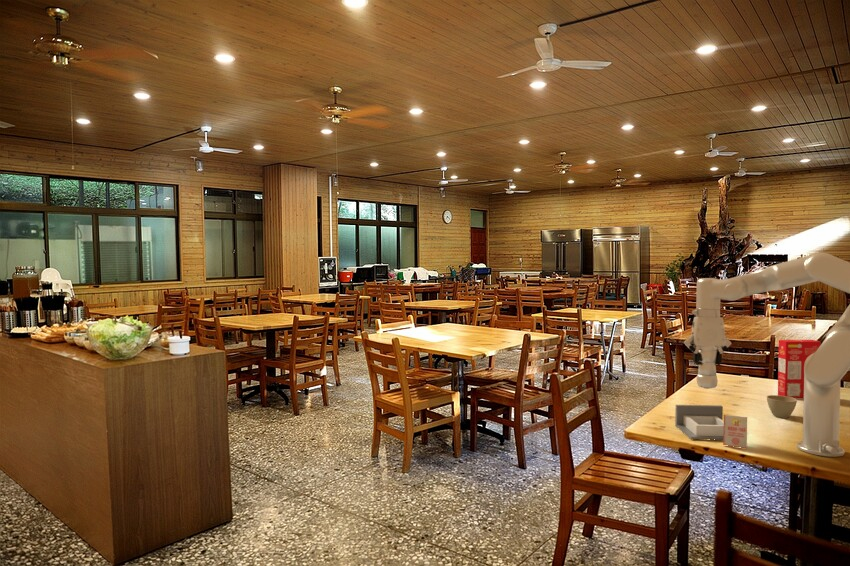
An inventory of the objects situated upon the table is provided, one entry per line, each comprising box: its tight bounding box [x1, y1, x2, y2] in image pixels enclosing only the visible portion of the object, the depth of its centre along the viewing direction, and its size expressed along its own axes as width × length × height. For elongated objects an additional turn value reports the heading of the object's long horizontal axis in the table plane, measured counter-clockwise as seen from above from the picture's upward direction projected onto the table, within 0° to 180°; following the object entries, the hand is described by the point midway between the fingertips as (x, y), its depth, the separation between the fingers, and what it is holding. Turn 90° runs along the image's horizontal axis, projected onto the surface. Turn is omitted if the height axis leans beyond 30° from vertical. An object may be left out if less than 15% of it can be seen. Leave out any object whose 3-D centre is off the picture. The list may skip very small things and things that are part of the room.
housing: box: [674, 404, 724, 441], centre depth 202 cm, size 16×16×8 cm
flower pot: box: [766, 394, 798, 419], centre depth 222 cm, size 10×10×7 cm
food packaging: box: [777, 339, 821, 398], centre depth 252 cm, size 15×5×25 cm, turn 89°
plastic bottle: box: [696, 346, 719, 390], centre depth 201 cm, size 6×7×20 cm
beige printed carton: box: [722, 414, 748, 449], centre depth 189 cm, size 4×7×10 cm, turn 61°
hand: (707, 363), depth 201 cm, fingers closed on plastic bottle, 6 cm apart
